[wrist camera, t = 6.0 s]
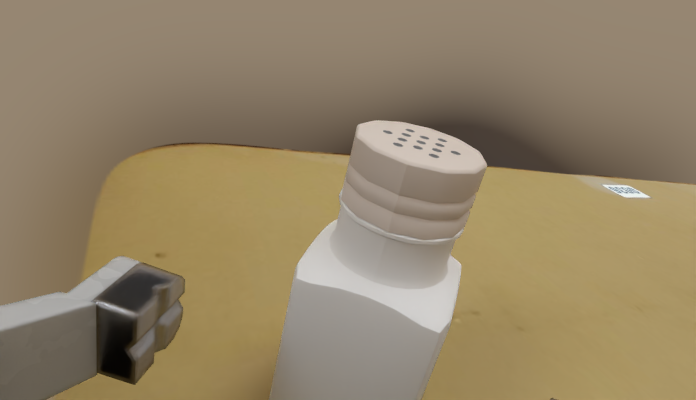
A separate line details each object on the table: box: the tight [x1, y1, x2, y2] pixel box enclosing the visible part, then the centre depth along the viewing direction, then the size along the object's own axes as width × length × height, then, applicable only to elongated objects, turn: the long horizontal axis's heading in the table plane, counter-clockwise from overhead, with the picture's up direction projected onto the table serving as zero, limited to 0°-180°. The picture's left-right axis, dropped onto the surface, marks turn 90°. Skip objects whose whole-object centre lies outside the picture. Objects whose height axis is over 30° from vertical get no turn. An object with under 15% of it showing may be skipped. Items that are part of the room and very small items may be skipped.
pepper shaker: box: [269, 120, 487, 400], centre depth 13 cm, size 4×4×10 cm
